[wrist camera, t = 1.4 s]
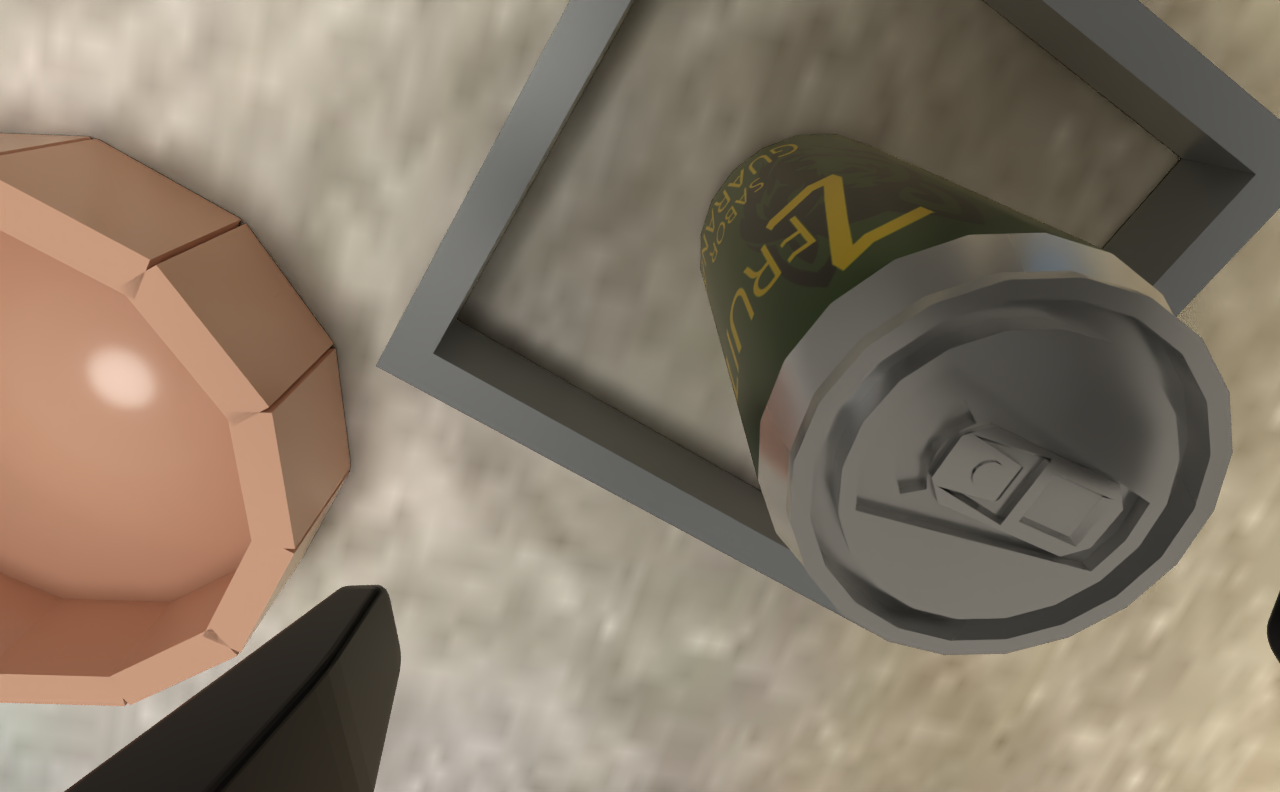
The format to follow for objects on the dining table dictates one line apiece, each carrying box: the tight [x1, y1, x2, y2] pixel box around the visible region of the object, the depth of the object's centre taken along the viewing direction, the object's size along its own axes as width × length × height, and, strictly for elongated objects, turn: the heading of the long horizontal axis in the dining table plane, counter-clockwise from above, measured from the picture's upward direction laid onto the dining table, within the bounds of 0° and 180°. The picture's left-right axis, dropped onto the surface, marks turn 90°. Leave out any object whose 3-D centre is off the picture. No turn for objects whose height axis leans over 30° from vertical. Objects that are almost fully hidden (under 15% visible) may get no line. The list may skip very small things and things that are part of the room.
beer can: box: [700, 134, 1232, 655], centre depth 14 cm, size 5×5×12 cm
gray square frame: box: [376, 0, 1280, 633], centre depth 19 cm, size 15×15×2 cm
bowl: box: [0, 133, 351, 706], centre depth 20 cm, size 14×14×4 cm
